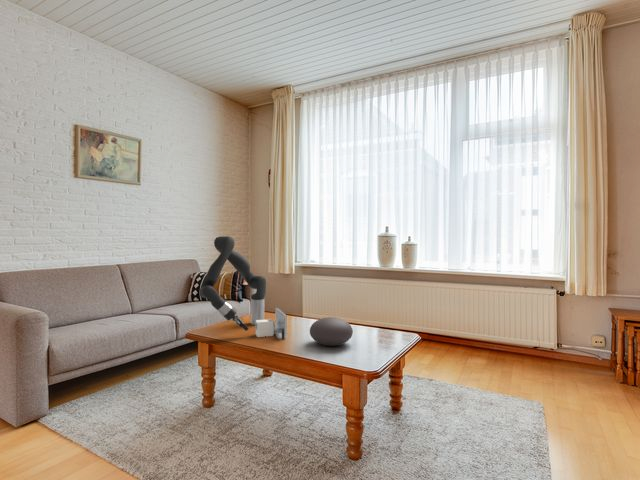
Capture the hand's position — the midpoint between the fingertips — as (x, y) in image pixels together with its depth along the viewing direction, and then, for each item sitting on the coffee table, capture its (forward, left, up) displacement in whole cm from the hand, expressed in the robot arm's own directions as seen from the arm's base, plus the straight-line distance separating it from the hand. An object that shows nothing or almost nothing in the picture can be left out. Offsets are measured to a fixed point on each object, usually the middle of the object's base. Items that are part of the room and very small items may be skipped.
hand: (247, 329), depth 218 cm
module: (0, +10, -4) cm, 11 cm away
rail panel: (0, +19, -4) cm, 19 cm away
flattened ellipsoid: (+30, +43, -4) cm, 52 cm away
